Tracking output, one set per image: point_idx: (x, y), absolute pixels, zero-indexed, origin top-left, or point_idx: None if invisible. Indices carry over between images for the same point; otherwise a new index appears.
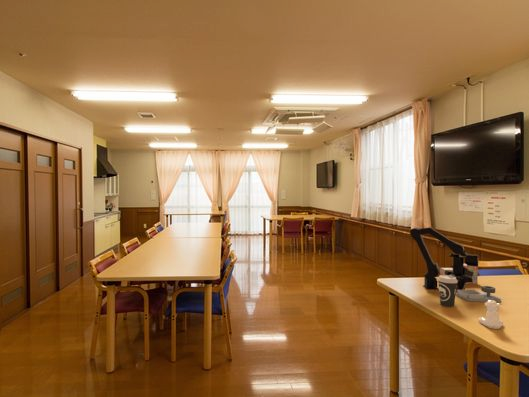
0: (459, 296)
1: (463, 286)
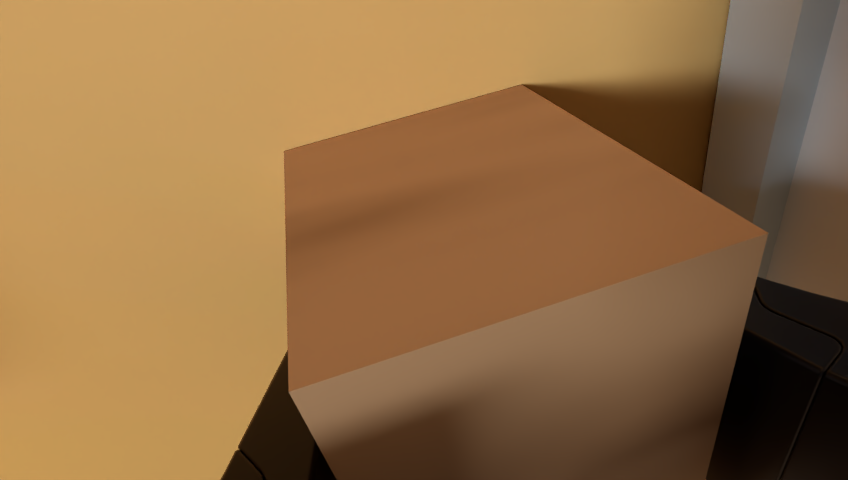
0: None
1: None
